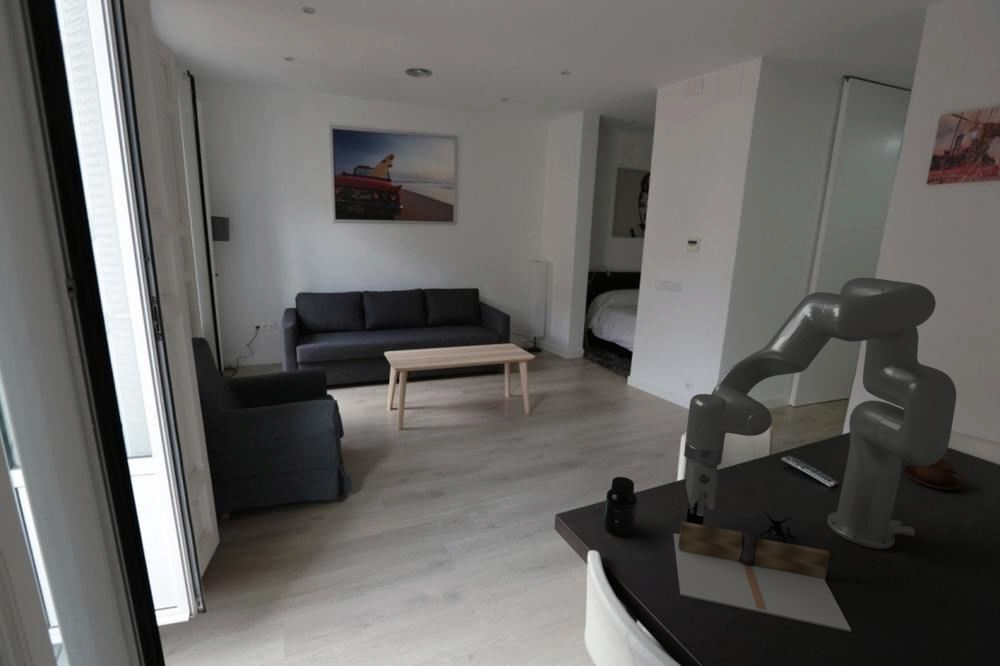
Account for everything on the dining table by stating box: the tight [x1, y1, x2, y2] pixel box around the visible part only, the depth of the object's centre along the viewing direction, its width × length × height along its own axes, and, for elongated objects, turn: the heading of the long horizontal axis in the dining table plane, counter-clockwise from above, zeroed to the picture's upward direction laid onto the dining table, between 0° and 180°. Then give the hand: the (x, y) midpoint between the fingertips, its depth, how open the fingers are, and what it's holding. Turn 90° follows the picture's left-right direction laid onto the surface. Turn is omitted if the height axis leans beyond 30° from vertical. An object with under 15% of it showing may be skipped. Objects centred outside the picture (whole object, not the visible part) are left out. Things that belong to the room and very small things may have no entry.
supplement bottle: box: [604, 476, 638, 538], centre depth 108 cm, size 7×7×12 cm
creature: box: [759, 511, 800, 546], centre depth 106 cm, size 8×5×8 cm
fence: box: [740, 530, 831, 579], centre depth 96 cm, size 15×2×7 cm, turn 74°
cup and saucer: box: [904, 459, 965, 491], centre depth 132 cm, size 12×12×6 cm
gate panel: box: [678, 520, 744, 561], centre depth 99 cm, size 12×1×6 cm, turn 74°
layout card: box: [673, 533, 852, 633], centre depth 94 cm, size 28×19×1 cm
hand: (693, 526), depth 105 cm, fingers closed
